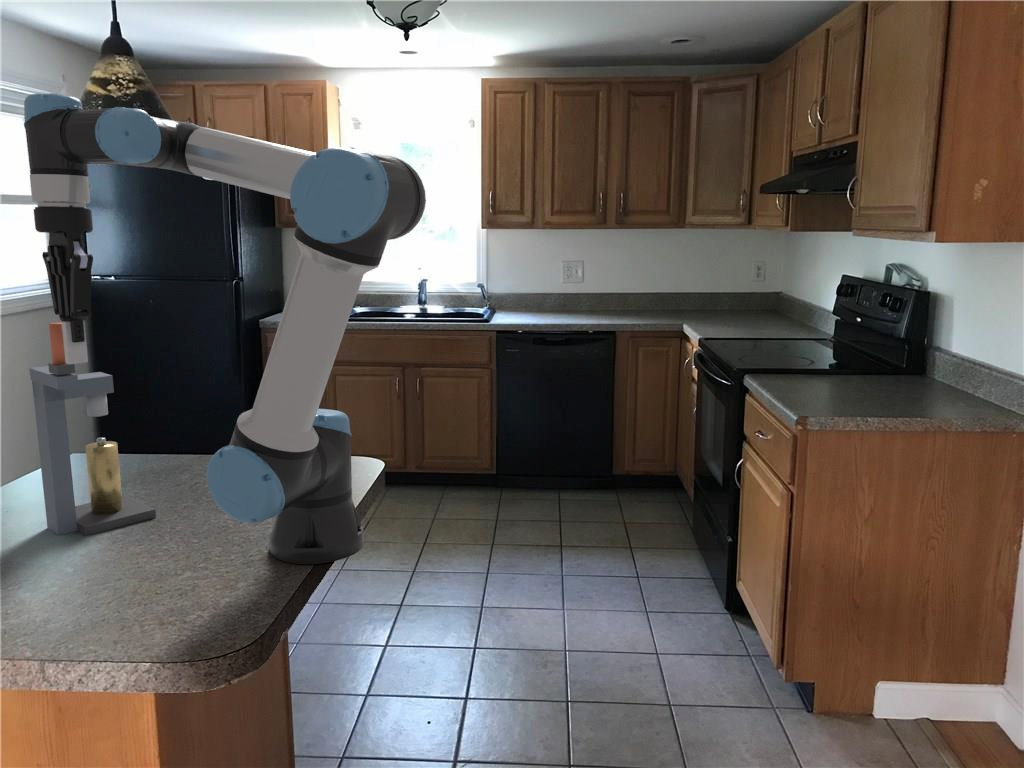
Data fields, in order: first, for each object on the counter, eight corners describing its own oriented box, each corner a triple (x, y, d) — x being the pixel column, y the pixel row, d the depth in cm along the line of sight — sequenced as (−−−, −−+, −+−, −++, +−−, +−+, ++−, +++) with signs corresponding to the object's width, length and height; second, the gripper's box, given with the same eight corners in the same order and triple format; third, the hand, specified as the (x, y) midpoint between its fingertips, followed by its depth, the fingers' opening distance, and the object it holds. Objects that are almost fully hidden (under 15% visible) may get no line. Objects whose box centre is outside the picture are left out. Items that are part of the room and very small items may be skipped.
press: (163, 521, 142) (151, 365, 137) (73, 545, 131) (57, 377, 126) (126, 501, 152) (114, 355, 146) (40, 522, 141) (23, 365, 135)
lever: (75, 373, 128) (70, 323, 126) (57, 375, 126) (52, 325, 124) (66, 370, 130) (61, 321, 129) (49, 372, 128) (44, 323, 127)
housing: (127, 509, 143) (121, 438, 141) (98, 516, 140) (92, 443, 137) (115, 503, 147) (109, 433, 144) (86, 510, 143) (80, 438, 140)
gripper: (107, 206, 117) (120, 365, 122) (72, 206, 125) (85, 355, 130) (51, 204, 112) (67, 371, 116) (18, 205, 120) (34, 360, 124)
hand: (76, 362), depth 123 cm, fingers closed
